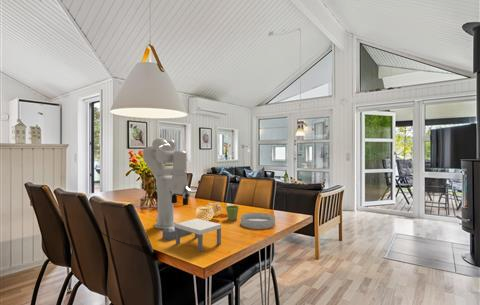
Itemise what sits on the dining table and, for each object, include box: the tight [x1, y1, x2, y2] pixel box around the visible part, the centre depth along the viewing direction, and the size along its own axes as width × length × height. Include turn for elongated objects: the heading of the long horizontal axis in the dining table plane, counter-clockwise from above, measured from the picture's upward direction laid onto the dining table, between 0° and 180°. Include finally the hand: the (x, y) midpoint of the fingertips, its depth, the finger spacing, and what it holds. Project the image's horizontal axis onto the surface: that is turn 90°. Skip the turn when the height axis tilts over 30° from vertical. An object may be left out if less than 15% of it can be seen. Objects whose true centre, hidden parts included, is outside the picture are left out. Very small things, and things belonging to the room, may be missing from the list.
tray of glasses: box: [161, 226, 193, 241], centre depth 148 cm, size 6×18×5 cm, turn 146°
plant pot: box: [225, 205, 240, 221], centre depth 183 cm, size 9×9×9 cm
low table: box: [175, 218, 222, 253], centre depth 134 cm, size 18×14×10 cm
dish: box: [240, 212, 276, 230], centre depth 172 cm, size 22×22×5 cm
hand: (179, 204), depth 148 cm, fingers open, 9 cm apart
